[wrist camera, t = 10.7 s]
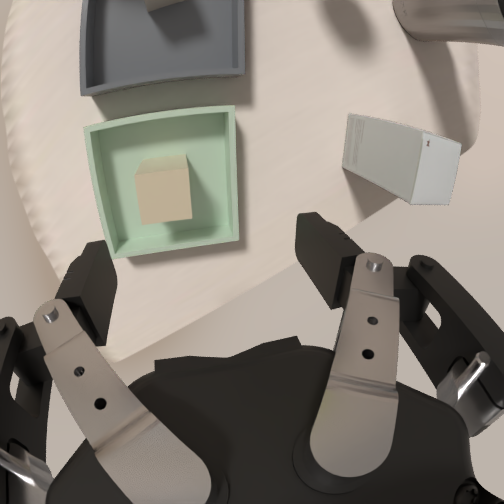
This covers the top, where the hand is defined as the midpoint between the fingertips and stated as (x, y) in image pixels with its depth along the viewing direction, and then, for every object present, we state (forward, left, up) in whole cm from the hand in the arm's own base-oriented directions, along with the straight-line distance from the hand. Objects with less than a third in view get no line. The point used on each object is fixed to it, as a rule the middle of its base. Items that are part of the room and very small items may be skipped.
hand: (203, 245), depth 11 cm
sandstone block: (+2, +2, -19) cm, 19 cm away
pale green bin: (+2, +2, -20) cm, 20 cm away
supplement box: (-23, -1, -20) cm, 30 cm away
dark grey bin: (+2, -15, -20) cm, 25 cm away
